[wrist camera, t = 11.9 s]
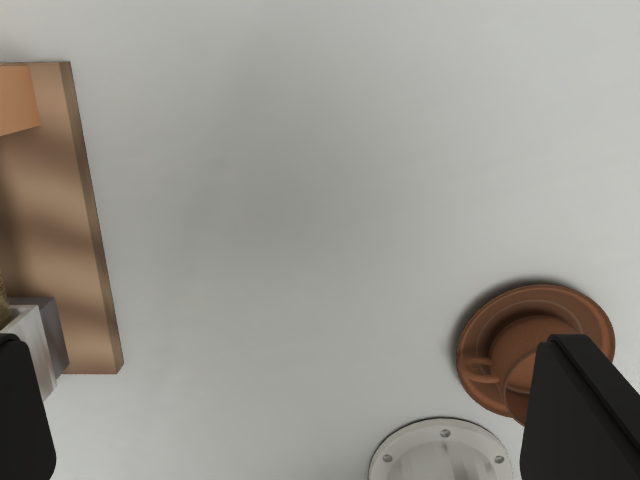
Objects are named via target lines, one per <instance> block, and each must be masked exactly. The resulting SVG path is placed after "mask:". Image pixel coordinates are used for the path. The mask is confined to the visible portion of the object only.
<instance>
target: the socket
mask: <svg viewBox="0 0 640 480" xmlns="http://www.w3.org/2000/svg"><path fill="white" fill-rule="evenodd" d="M40 125H41V121H40V117H39V112H38V107H37V102H36V97H35V92H34V87H33V83H32V78H31V73H30V68H29V66H2V67H0V136H2V135H6V134H10V133H14V132H18V131H21V130H25V129H29V128H33V127H36V126H40Z"/></svg>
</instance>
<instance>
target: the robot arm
mask: <svg viewBox="0 0 640 480" xmlns="http://www.w3.org/2000/svg"><path fill="white" fill-rule="evenodd" d="M55 466H56V452H55V448H54V444H53V440H52V436H51V432H50V428H49V425H48V421H47V417H46V413H45V409H44V405H43V401H42V397H41V393H40V389H39V385H38V381H37V377H36V373H35V369H34V365H33V361H32V357H31V353H30V349H29V347H28V345H27V344H26V342H23V341H21V340H20V338H19V337H18V336H17V335H16V334H13V333H0V480H49V479H50V478H51V476H52V474H53V472H54V469H55ZM520 472H521V477H522V480H640V395H639V394H638V393H637V392H636V390H635V389H634V388H633V387H632V386H631V385H630V384H629V382H628V381H627V380H626V379H625V378H624V377H623V375H622V374H621V373H620V372H619V371H618V370H617V369H616V367H615V366H614V365H613V364H612V363H611V362H610V360H609V359H608V358H607V357H606V356H605V355H604V354H603V352H602V351H601V350H600V349H599V348H598V347H597V346H596V344H595V343H594V342H593V341H592V340H591V339H590V337H588V336H587V335H586V334H551V335H549V337H548V339H547V342H540V343H539V344H538V346H537V350H536V356H535V363H534V369H533V376H532V382H531V389H530V395H529V402H528V408H527V415H526V421H525V428H524V434H523V441H522V448H521V454H520ZM369 480H513V469H512V465H511V461H510V459H509V457H508V454H507V452H506V450H505V449H504V447H503V446H502V444H501V443H500V441H499V440H498V439H496V438H495V437H494V436H493V435H492V434H491V433H490V432H488V431H486V430H485V429H483V428H481V427H480V426H477V425H474V424H472V423H469V422H466V421H461V420H456V419H432V420H425V421H421V422H417V423H414V424H411V425H409V426H406V427H404V428H402V429H400V430H398V431H397V432H395V433H394V434H392V435H391V436H389V437H388V438H387V439H386V440H385V441H384V442H383V443H382V444H381V445H380V447H379V448H378V450H377V451H376V453H375V454H374V456H373V459H372V461H371V464H370V469H369Z"/></svg>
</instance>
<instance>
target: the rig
mask: <svg viewBox="0 0 640 480" xmlns="http://www.w3.org/2000/svg"><path fill="white" fill-rule="evenodd" d="M2 66H29V68H30V73H31V78H32V83H33V87H34V92H35V97H36V102H37V107H38V112H39V117H40V121H41V125H40V126H36V127H33V128H29V129H25V130H21V131H18V132H14V133H10V134H6V135H2V136H0V271H1V275H2V279H3V283H4V287H5V291H6V295H7V298H8V302H9V306H10V310H11V314H12V318H13V321H12V322H10V323H9V324H8V325H7V326H6V327H4V328H3V329H2V330H1V331H0V333H13V334H16V335H17V336H18V337H19V338H20V340H21V341H23V342H26V344H27V345H28V347H29V349H30V353H31V357H32V361H33V365H34V369H35V373H36V377H37V381H38V385H39V389H40V393H41V397H42V401H43V402H44V401H45V400H46V399H47V397H48V396H49V395H50V394H51V392H52V391H53V390H54V389H55V388H56V386H57V383H56V379H57V378H58V377H59V376H60V375H61V374H117V373H118V372H119V370H120V369H121V367H122V366H123V364H124V361H123V355H122V350H121V344H120V339H119V333H118V327H117V322H116V316H115V311H114V305H113V300H112V294H111V288H110V283H109V277H108V272H107V266H106V260H105V255H104V249H103V244H102V238H101V233H100V227H99V221H98V216H97V210H96V205H95V199H94V193H93V188H92V182H91V177H90V171H89V165H88V160H87V154H86V149H85V143H84V138H83V132H82V126H81V121H80V115H79V110H78V104H77V98H76V93H75V87H74V82H73V76H72V71H71V65H70V62H20V63H0V67H2Z"/></svg>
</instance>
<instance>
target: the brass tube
mask: <svg viewBox="0 0 640 480" xmlns="http://www.w3.org/2000/svg"><path fill="white" fill-rule="evenodd" d="M12 321H13V318H12V314H11V310H10V306H9V302H8V298H7V295H6V291H5V287H4V283H3V279H2V275H1V271H0V331H1V330H2V329H3V328H4V327H6V326H7V325H8V324H9V323H10V322H12Z"/></svg>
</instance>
